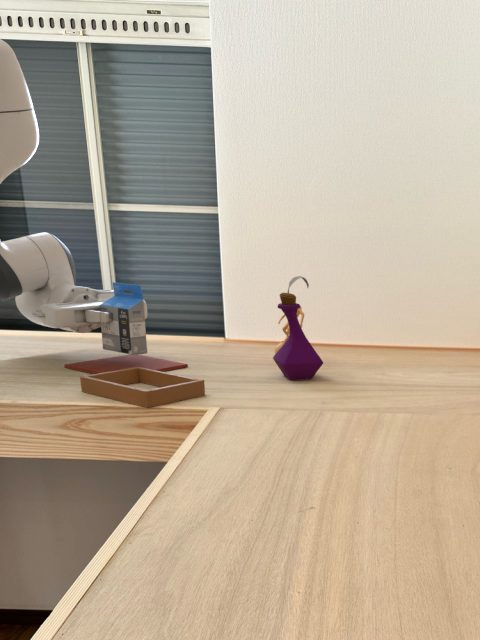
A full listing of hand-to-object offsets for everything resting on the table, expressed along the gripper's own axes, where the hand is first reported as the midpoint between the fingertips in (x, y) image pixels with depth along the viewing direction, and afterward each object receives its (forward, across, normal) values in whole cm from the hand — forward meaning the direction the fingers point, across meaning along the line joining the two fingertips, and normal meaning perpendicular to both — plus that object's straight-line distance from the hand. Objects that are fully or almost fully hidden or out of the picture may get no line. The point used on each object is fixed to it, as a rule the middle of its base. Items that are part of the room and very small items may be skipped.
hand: (121, 316), depth 136 cm
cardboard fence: (+20, -12, +9) cm, 25 cm away
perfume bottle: (+30, +15, +10) cm, 35 cm away
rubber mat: (0, 0, +10) cm, 10 cm away
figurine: (+18, +26, +10) cm, 33 cm away
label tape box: (0, 0, +7) cm, 7 cm away
